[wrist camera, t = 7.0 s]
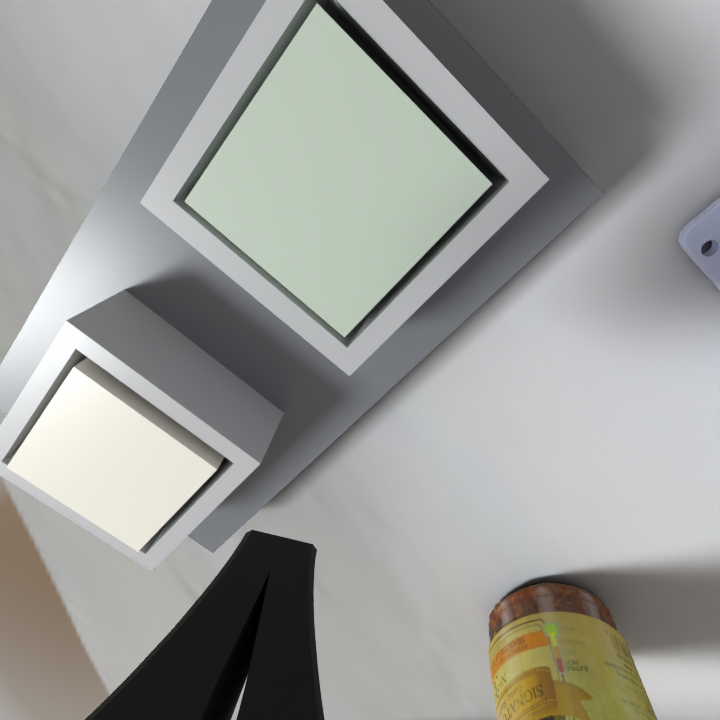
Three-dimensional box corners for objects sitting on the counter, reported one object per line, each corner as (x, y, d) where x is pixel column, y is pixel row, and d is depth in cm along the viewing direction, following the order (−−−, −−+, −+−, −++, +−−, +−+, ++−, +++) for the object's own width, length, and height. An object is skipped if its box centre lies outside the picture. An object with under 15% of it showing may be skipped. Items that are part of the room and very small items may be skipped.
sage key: (482, 178, 12) (492, 184, 10) (351, 316, 14) (344, 337, 12) (329, 20, 11) (316, 2, 9) (210, 193, 13) (184, 201, 11)
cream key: (234, 439, 16) (217, 469, 15) (160, 518, 18) (137, 551, 16) (106, 344, 15) (73, 366, 13) (40, 438, 17) (6, 467, 15)
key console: (575, 184, 16) (651, 207, 11) (232, 512, 23) (183, 615, 18) (316, -98, 13) (259, -239, 8) (28, 369, 21) (-93, 443, 16)
